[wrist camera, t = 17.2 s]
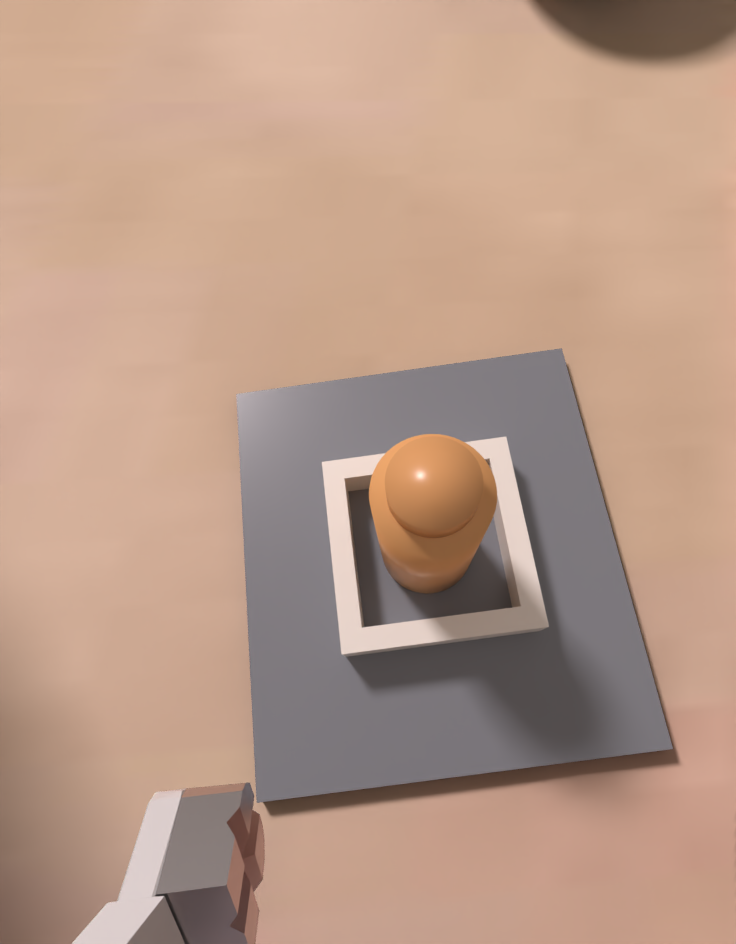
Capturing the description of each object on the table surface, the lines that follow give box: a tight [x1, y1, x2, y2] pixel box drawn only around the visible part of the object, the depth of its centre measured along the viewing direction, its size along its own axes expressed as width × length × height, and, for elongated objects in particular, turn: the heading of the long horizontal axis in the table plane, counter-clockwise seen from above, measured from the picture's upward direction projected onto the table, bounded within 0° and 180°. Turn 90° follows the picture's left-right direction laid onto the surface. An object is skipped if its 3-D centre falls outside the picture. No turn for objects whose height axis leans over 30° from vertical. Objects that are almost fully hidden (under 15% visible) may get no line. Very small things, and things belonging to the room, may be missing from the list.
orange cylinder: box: [369, 434, 497, 594], centre depth 24 cm, size 4×4×10 cm
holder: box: [236, 349, 673, 803], centre depth 28 cm, size 18×20×3 cm
